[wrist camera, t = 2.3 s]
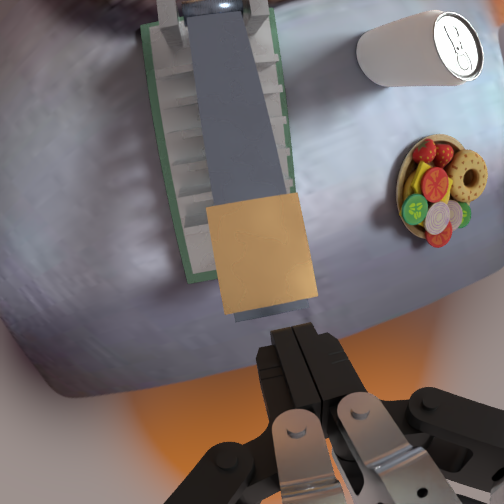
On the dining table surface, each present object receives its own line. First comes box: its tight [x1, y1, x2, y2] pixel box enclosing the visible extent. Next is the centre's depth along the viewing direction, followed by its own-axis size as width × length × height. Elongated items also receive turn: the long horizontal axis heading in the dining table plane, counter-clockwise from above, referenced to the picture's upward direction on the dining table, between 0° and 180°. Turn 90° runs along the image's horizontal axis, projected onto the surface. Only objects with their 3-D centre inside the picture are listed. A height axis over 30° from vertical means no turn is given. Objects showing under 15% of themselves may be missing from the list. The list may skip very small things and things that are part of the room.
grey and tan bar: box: [182, 0, 318, 322], centre depth 16 cm, size 21×4×2 cm, turn 7°
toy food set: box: [396, 134, 488, 248], centre depth 32 cm, size 13×13×3 cm
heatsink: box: [140, 0, 296, 284], centre depth 24 cm, size 26×12×9 cm, turn 8°
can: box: [356, 10, 484, 87], centre depth 21 cm, size 6×6×12 cm
